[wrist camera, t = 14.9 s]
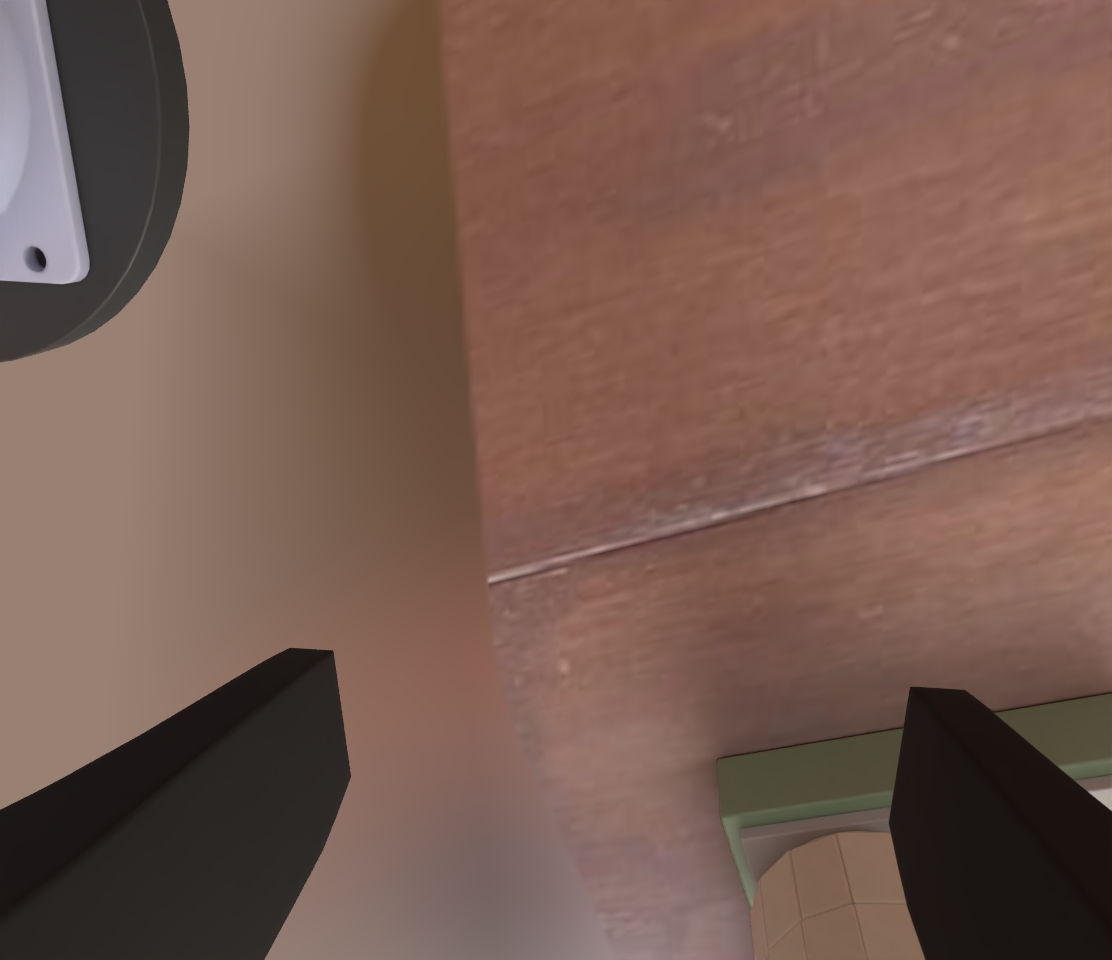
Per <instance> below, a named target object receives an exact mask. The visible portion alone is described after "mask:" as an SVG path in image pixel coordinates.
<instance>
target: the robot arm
mask: <svg viewBox="0 0 1112 960" xmlns="http://www.w3.org/2000/svg"><path fill="white" fill-rule="evenodd" d="M38 249H40V250H41V251H42V252H43V253H44V255H45V258H46V267H45V268H44V267H43V266H42V265H41V264H40V262H39V260H38V257H37V250H38ZM89 263H90V260H89V254H88V248H87V242H86V236H85V230H84V224H83V218H82V212H81V206H80V200H79V194H78V189H77V183H76V177H75V171H74V165H73V159H72V153H71V147H70V141H69V135H68V129H67V123H66V117H65V111H64V106H63V100H62V94H61V88H60V82H59V76H58V70H57V64H56V58H55V52H54V46H53V40H52V34H51V28H50V22H49V17H48V11H47V5H46V0H0V280H2V281H18V282H35V283H51V284H66V283H72V282H78V281H81V280H82V279H84V278H85V277H86V276H87V273H88V271H89ZM350 778H351V773H350V766H349V760H348V752H347V745H346V738H345V732H344V724H343V716H342V710H341V702H340V695H339V688H338V681H337V674H336V667H335V660H334V652H333V651H331V650H330V651H329V650H316V649H315V650H314V649H299V648H289V649H287V650H285V651H283V652H281V653H279V654H277V655H275V656H273V657H271V658H269V659H267V660H265V661H264V662H262V663H260V664H258V665H257V666H255V667H253V668H252V669H250V670H248V671H247V672H245V673H243V674H241V675H240V676H238V677H236V678H235V679H233V680H231V681H230V682H228V683H226V684H225V685H223V686H221V687H220V688H218V689H216V690H215V691H213V692H212V693H210V694H208V695H207V696H205V697H203V698H202V699H200V700H198V701H197V702H195V703H193V704H192V705H190V706H188V707H187V708H185V709H183V710H182V711H180V712H178V713H177V714H175V715H173V716H171V717H170V718H168V719H166V720H165V721H163V722H161V723H160V724H158V725H156V726H155V727H153V728H151V729H150V730H148V731H146V732H145V733H143V734H141V735H140V736H138V737H136V738H134V739H132V740H130V741H129V742H127V743H125V744H123V745H121V746H120V747H118V748H116V749H114V750H113V751H111V752H109V753H107V754H105V755H103V756H102V757H100V758H98V759H96V760H94V761H93V762H91V763H89V764H87V765H85V766H84V767H82V768H80V769H78V770H76V771H75V772H73V773H71V774H69V775H67V776H66V777H64V778H62V779H60V780H58V781H56V782H54V783H53V784H51V785H49V786H47V787H45V788H43V789H41V790H39V791H37V792H35V793H33V794H31V795H29V796H27V797H25V798H23V799H21V800H19V801H17V802H15V803H13V804H11V805H9V806H7V807H5V808H3V809H1V810H0V960H264V959H265V957H266V955H267V954H268V952H269V950H270V948H271V946H272V944H273V943H274V941H275V939H276V937H277V935H278V933H279V932H280V930H281V928H282V926H283V924H284V922H285V920H286V919H287V917H288V915H289V913H290V911H291V909H292V908H293V906H294V904H295V902H296V900H297V898H298V896H299V894H300V892H301V891H302V889H303V887H304V884H305V883H306V881H307V879H308V877H309V876H310V874H311V872H312V870H313V868H314V866H315V864H316V862H317V860H318V858H319V856H320V854H321V853H322V851H323V848H324V846H325V843H326V841H327V838H328V836H329V833H330V831H331V828H332V826H333V824H334V821H335V819H336V816H337V813H338V811H339V808H340V805H341V802H342V800H343V797H344V794H345V792H346V789H347V786H348V783H349V781H350ZM889 827H890V832H891V837H892V841H893V846H894V851H895V856H896V860H897V865H898V870H899V874H900V878H901V883H902V887H903V891H904V895H905V900H906V904H907V908H908V911H909V914H910V917H911V920H912V923H913V926H914V929H915V932H916V935H917V937H918V940H919V943H920V946H921V949H922V952H923V955H924V957H925V960H1112V811H1111V810H1110V809H1109V808H1108V807H1106V806H1105V805H1104V804H1103V803H1101V802H1100V801H1099V800H1098V799H1096V798H1095V797H1094V796H1093V795H1092V794H1090V793H1089V792H1088V791H1087V790H1085V789H1084V788H1083V787H1082V786H1080V785H1079V784H1078V783H1077V782H1076V781H1074V780H1073V779H1072V778H1071V777H1070V776H1068V775H1067V774H1066V773H1065V772H1064V771H1062V770H1061V769H1060V768H1059V767H1058V766H1056V765H1055V764H1054V763H1053V762H1052V761H1050V760H1049V759H1048V758H1047V757H1046V756H1045V755H1043V754H1042V753H1041V752H1040V751H1039V750H1037V749H1036V748H1035V747H1034V746H1033V745H1031V744H1030V743H1029V742H1028V741H1027V740H1026V739H1024V738H1023V737H1022V736H1021V735H1020V734H1018V733H1017V732H1016V731H1015V730H1014V729H1013V728H1011V727H1010V726H1009V725H1008V724H1007V723H1005V722H1004V721H1003V720H1002V719H1001V718H999V717H998V716H997V715H996V714H995V713H993V712H992V711H991V710H990V709H989V708H987V707H986V706H985V705H984V704H982V703H981V702H980V701H979V700H977V699H976V698H975V697H974V696H972V695H971V694H970V693H968V692H967V691H966V690H958V689H942V688H926V687H910V691H909V697H908V704H907V710H906V716H905V723H904V729H903V735H902V741H901V748H900V754H899V760H898V767H897V773H896V779H895V785H894V792H893V798H892V804H891V810H890V817H889Z"/></svg>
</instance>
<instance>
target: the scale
mask: <svg viewBox="0 0 1112 960" xmlns="http://www.w3.org/2000/svg"><path fill="white" fill-rule="evenodd" d="M995 714H996V715H997V716H998V717H999V718H1001V719H1002V720H1003V721H1004V722H1005V723H1007V724H1008V725H1009V726H1010V727H1011V728H1013V729H1014V730H1015V731H1016V732H1017V733H1018V734H1020V735H1021V736H1022V737H1023V738H1024V739H1026V740H1027V741H1028V742H1029V743H1030V744H1031V745H1033V746H1034V747H1035V748H1036V749H1037V750H1039V751H1040V752H1041V753H1042V754H1043V755H1045V756H1046V757H1047V758H1048V759H1049V760H1050V761H1052V762H1053V763H1054V764H1055V765H1056V766H1058V767H1059V768H1060V769H1061V770H1062V771H1064V772H1065V773H1066V774H1067V775H1068V776H1070V777H1071V778H1072V779H1073V780H1074V781H1076V782H1077V783H1078V784H1079V785H1080V786H1082V787H1083V788H1084V789H1085V790H1087V791H1088V792H1089V793H1090V794H1092V795H1093V796H1094V797H1095V798H1096V799H1098V800H1099V801H1100V802H1101V803H1103V804H1104V805H1105V806H1106V807H1108V808H1109V809H1110V810H1111V811H1112V693H1111V694H1105V695H1099V696H1093V697H1087V698H1081V699H1075V700H1069V701H1063V702H1057V703H1051V704H1045V705H1039V706H1033V707H1027V708H1021V709H1015V710H1009V711H1003V712H997V713H995ZM903 729H904V728H901V729H895V730H889V731H883V732H877V733H871V734H865V735H859V736H853V737H848V738H842V739H836V740H830V741H824V742H818V743H812V744H806V745H800V746H794V747H788V748H782V749H776V750H770V751H764V752H758V753H752V754H746V755H740V756H734V757H728V758H722V759H718V760H717V777H718V791H719V806H720V818H721V822H722V825H723V828H724V831H725V834H726V837H727V840H728V843H729V846H730V849H731V852H732V855H733V858H734V862H735V865H736V868H737V871H738V874H739V877H740V880H741V883H742V886H743V889H744V892H745V895H746V899H747V902H748V905H749V908H750V911H751V908H752V904H753V900H754V896H755V892H756V888H757V883H758V880H759V879H760V878H761V876H762V875H763V874H764V873H765V872H767V871H768V870H769V869H770V868H771V867H772V866H773V865H774V864H775V863H776V862H777V861H778V860H779V859H780V858H781V857H782V856H783V855H784V854H785V853H786V852H787V851H788V850H790V851H791V850H792V849H793V848H796V847H798V846H801V845H803V844H805V843H807V842H809V841H811V840H813V839H815V838H818V837H821V836H824V835H828V834H832V833H837V832H844V831H873V832H888V833H889V834H890V833H891V832H890V827H889V817H890V810H891V804H892V798H893V792H894V785H895V779H896V773H897V767H898V760H899V754H900V748H901V741H902V735H903Z"/></svg>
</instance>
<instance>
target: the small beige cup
mask: <svg viewBox="0 0 1112 960" xmlns="http://www.w3.org/2000/svg"><path fill="white" fill-rule="evenodd" d="M750 917H751V928H752V938H753V948H754V958H755V960H925V957H924V955H923V952H922V949H921V946H920V943H919V940H918V937H917V935H916V932H915V929H914V926H913V923H912V920H911V917H910V914H909V911H908V908H907V904H906V900H905V895H904V891H903V887H902V883H901V878H900V874H899V870H898V865H897V860H896V856H895V851H894V846H893V841H892V837H891V833H890V834H889V833H888V832H873V831H844V832H837V833H832V834H828V835H824V836H821V837H818V838H815V839H813V840H811V841H809V842H807V843H805V844H803V845H801V846H798V847H796V848H793V849H792V850H791V851H790V850H788V851H787V852H786V853H785V854H784V855H783V856H782V857H781V858H780V859H779V860H778V861H777V862H776V863H775V864H774V865H773V866H772V867H771V868H770V869H769V870H768V871H767V872H765V873H764V874H763V875H762V876H761V878H760V879H759V880H758V883H757V888H756V892H755V896H754V900H753V904H752V908H751V912H750Z"/></svg>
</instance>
